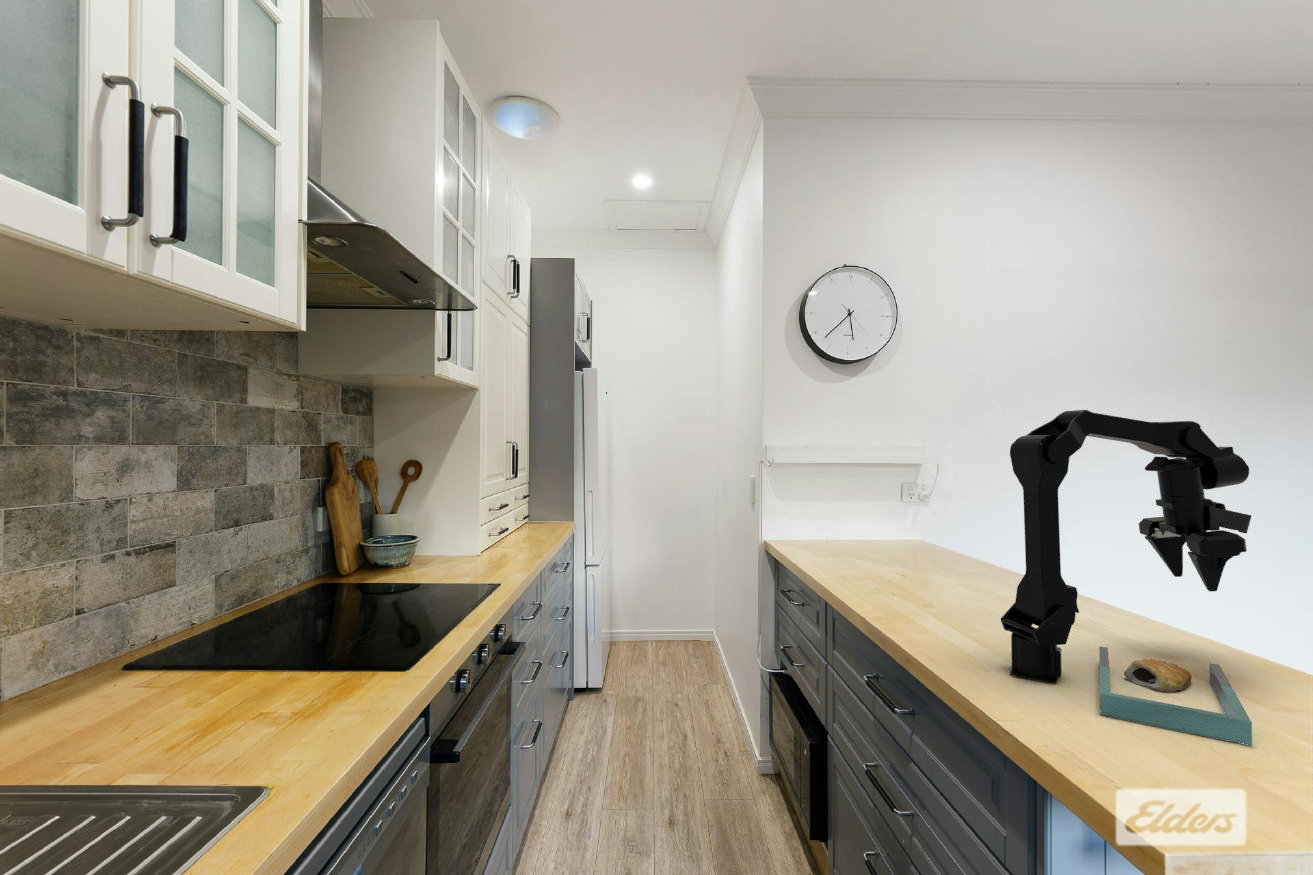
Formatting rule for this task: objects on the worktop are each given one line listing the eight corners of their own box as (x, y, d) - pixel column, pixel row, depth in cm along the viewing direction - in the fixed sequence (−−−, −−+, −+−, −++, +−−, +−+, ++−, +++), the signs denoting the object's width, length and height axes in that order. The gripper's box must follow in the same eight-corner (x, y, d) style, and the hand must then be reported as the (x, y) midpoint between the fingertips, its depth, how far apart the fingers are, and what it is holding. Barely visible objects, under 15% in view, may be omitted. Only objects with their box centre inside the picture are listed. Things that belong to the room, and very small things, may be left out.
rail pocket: (1100, 714, 85) (1100, 693, 85) (1099, 663, 105) (1099, 646, 105) (1252, 746, 76) (1251, 722, 76) (1219, 683, 96) (1219, 664, 96)
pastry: (1158, 672, 101) (1158, 649, 101) (1206, 688, 95) (1206, 663, 95) (1120, 680, 98) (1120, 656, 98) (1167, 697, 92) (1167, 671, 92)
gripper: (1280, 495, 93) (1294, 595, 93) (1201, 482, 111) (1213, 566, 111) (1195, 503, 95) (1209, 601, 95) (1132, 489, 113) (1143, 571, 114)
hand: (1194, 583), depth 104 cm, fingers open, 9 cm apart
